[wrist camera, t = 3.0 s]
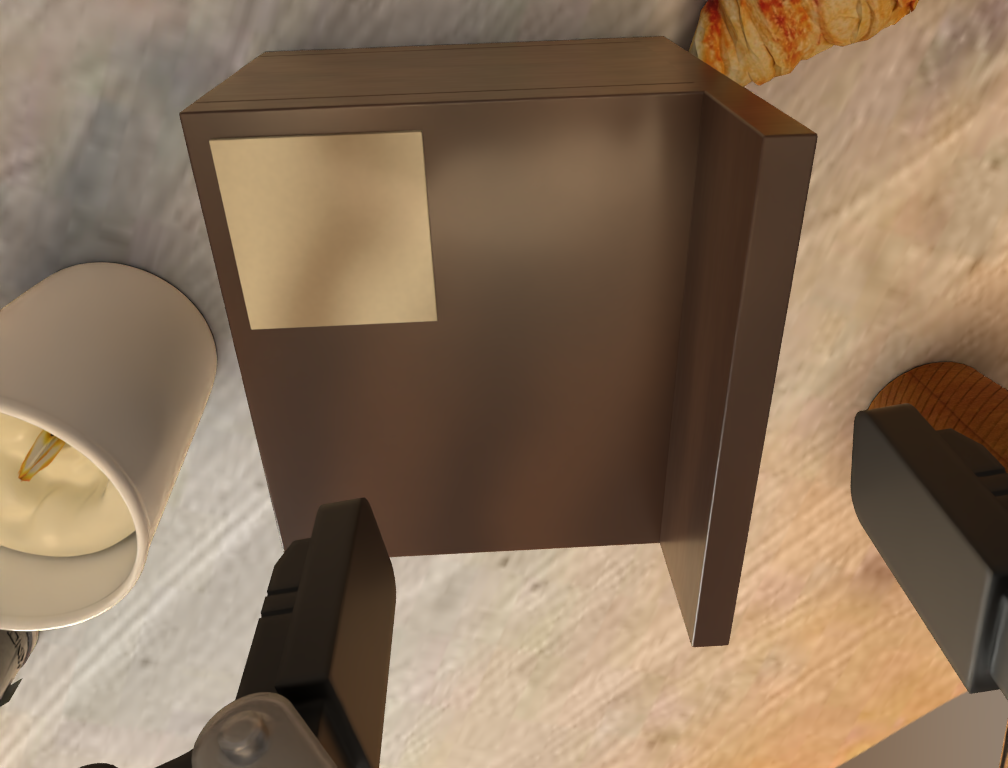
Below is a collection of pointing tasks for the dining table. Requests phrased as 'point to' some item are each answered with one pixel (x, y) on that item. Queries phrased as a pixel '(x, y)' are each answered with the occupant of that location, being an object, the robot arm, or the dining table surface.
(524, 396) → the walnut shelf
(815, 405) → the dining table surface
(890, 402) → the disposable coffee cup
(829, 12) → the croissant
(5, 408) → the candle holder
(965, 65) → the dining table surface
